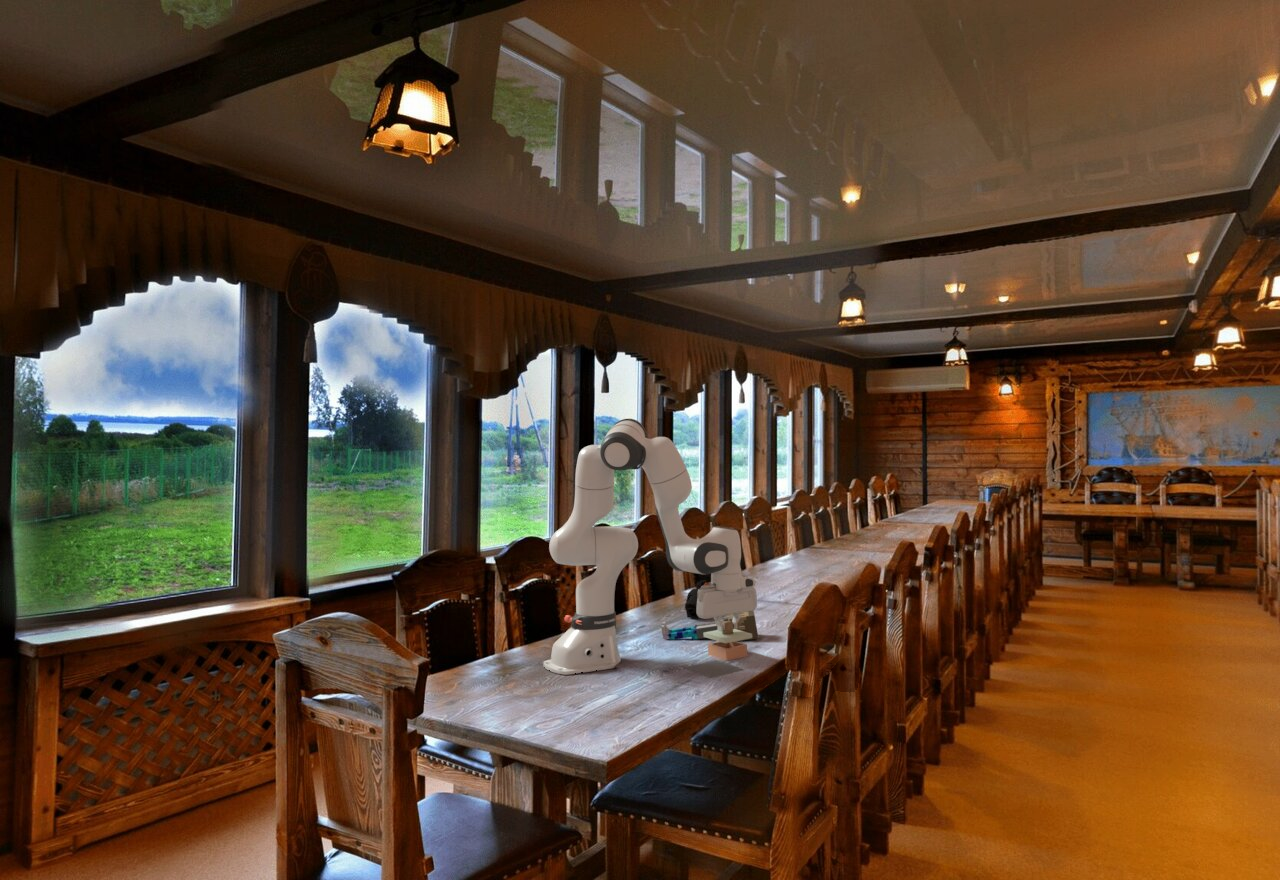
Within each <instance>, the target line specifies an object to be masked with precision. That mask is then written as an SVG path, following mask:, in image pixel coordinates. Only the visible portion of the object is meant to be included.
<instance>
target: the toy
mask: <svg viewBox="0 0 1280 880" xmlns="http://www.w3.org/2000/svg"><path fill="white" fill-rule="evenodd" d="M733 617H734V616H732V614H731V615H725V616H722V620H721V622H723V621H732V620H733ZM660 626H661V628H660V629H661V632H662V633H661V634H662V640H663V639H673V640H680V639H686V638H691V640H692V639H693V641H694V640H699V639H707V638H706V637H704V635H703V633H704V632H709V631H715V630H718V629H717V624H716V622H715V621H711V622H706V623H699V624H698V623H697V624H695V625H694V626H693V625H692V626H687V627H681V628H672V629H670V628H669V627H668V626H667V624H666V621H662V625H660ZM737 630H740V631H744V632H747V633H751V634H752V638H750V639H745V640H740V641H739V642H742V641H751V640H756V639H759V633H758V628H757V621H756V617H755V610H754V611H748V612H742V613H740V619H739V621H738V623H737Z"/></svg>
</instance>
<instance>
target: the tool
mask: <svg viewBox="0 0 1280 880" xmlns="http://www.w3.org/2000/svg"><path fill="white" fill-rule="evenodd" d="M710 584H711V583H710V582H707V580H706V579H704V580H703V579H701V580H700V581H697V582H696V585H695V588H693V589H691V590H690V591H689V592H688V594H687V596H686V601H685V604H684V606H685V607H684V610H685V612H686V617H687V618H689V619H701V618H700V617H698V615H697V613H696V608H697V598H698V590H699V589H700V588H701V587H702V586H703V585H710Z"/></svg>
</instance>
